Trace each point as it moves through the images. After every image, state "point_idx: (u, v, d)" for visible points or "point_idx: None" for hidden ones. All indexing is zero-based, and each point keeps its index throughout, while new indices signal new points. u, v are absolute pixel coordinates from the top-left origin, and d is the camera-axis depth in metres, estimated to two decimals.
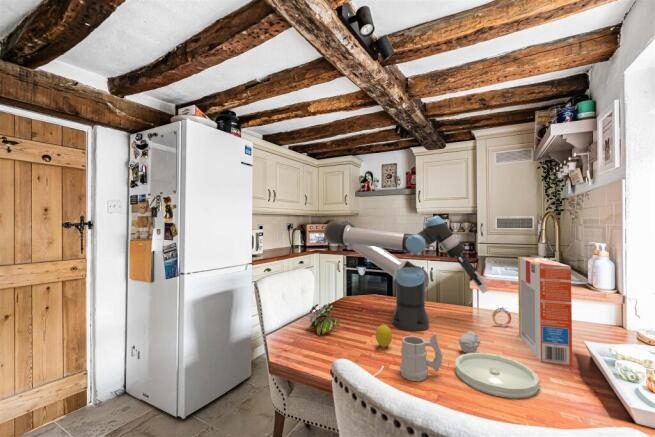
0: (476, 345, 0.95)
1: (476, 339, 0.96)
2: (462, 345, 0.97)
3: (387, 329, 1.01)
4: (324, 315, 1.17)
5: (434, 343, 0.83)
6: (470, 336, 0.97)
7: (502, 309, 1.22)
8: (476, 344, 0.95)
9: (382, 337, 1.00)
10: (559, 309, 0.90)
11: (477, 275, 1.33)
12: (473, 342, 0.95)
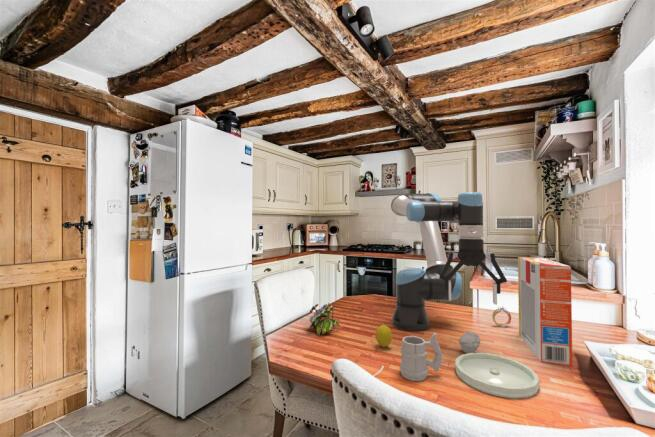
0: (476, 345, 0.95)
1: (476, 339, 0.96)
2: (462, 345, 0.97)
3: (387, 329, 1.01)
4: (324, 315, 1.17)
5: (434, 343, 0.83)
6: (470, 336, 0.97)
7: (502, 309, 1.22)
8: (476, 344, 0.95)
9: (382, 337, 1.00)
10: (559, 309, 0.90)
11: (493, 289, 0.96)
12: (473, 342, 0.95)
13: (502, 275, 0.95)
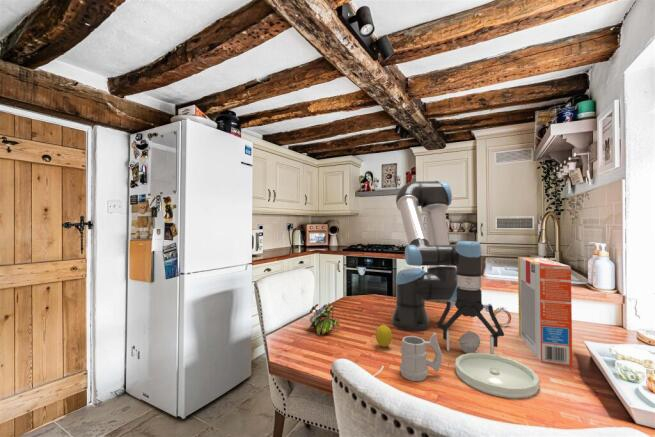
0: (476, 345, 0.95)
1: (476, 339, 0.96)
2: (462, 345, 0.97)
3: (387, 329, 1.01)
4: (324, 315, 1.17)
5: (434, 343, 0.83)
6: (470, 336, 0.97)
7: (502, 309, 1.22)
8: (476, 344, 0.95)
9: (382, 337, 1.00)
10: (559, 309, 0.90)
11: (490, 341, 0.95)
12: (473, 342, 0.95)
13: (499, 329, 0.93)
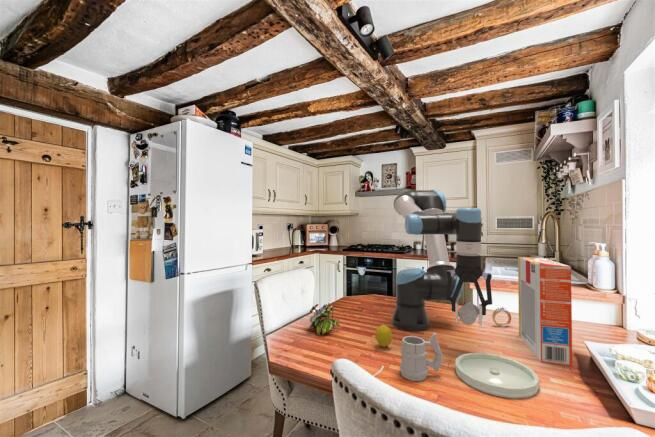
0: (475, 315, 0.96)
1: (475, 310, 0.96)
2: (461, 316, 0.98)
3: (387, 329, 1.01)
4: (324, 315, 1.17)
5: (434, 343, 0.83)
6: (469, 307, 0.97)
7: (502, 309, 1.22)
8: (475, 314, 0.96)
9: (382, 337, 1.00)
10: (559, 309, 0.90)
11: (479, 310, 0.97)
12: (472, 312, 0.96)
13: (490, 297, 0.95)
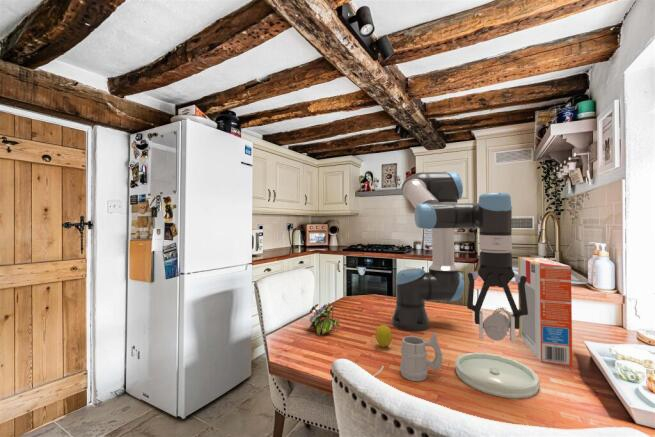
0: (506, 329, 0.75)
1: (505, 322, 0.76)
2: (487, 329, 0.77)
3: (387, 329, 1.01)
4: (324, 315, 1.17)
5: (434, 343, 0.83)
6: (498, 318, 0.77)
7: (502, 309, 1.22)
8: (506, 327, 0.75)
9: (382, 337, 1.00)
10: (559, 309, 0.90)
11: (510, 322, 0.76)
12: (502, 325, 0.75)
13: (525, 306, 0.75)
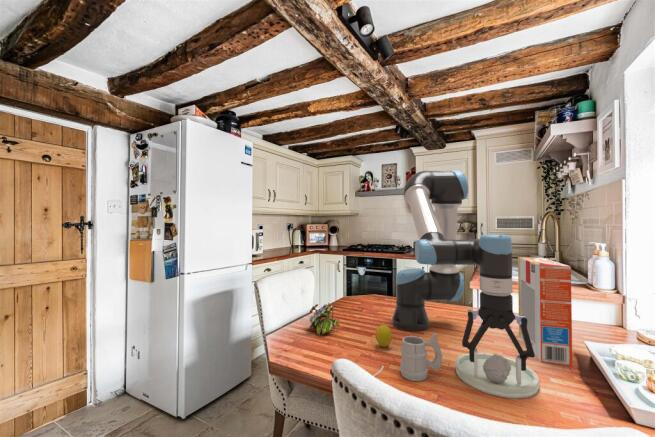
0: (506, 373, 0.75)
1: (505, 366, 0.76)
2: (488, 372, 0.77)
3: (387, 329, 1.01)
4: (324, 315, 1.17)
5: (434, 343, 0.83)
6: (499, 362, 0.77)
7: None
8: (506, 372, 0.75)
9: (382, 337, 1.00)
10: (559, 309, 0.90)
11: (517, 364, 0.76)
12: (502, 369, 0.75)
13: (530, 348, 0.74)
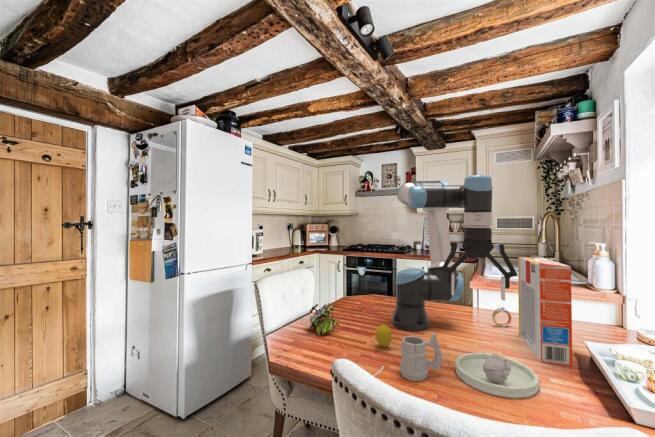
0: (506, 373, 0.75)
1: (505, 366, 0.76)
2: (488, 372, 0.77)
3: (387, 329, 1.01)
4: (324, 315, 1.17)
5: (434, 343, 0.83)
6: (498, 362, 0.77)
7: (502, 309, 1.22)
8: (506, 372, 0.75)
9: (382, 337, 1.00)
10: (559, 309, 0.90)
11: (502, 283, 0.86)
12: (502, 369, 0.75)
13: (512, 268, 0.85)
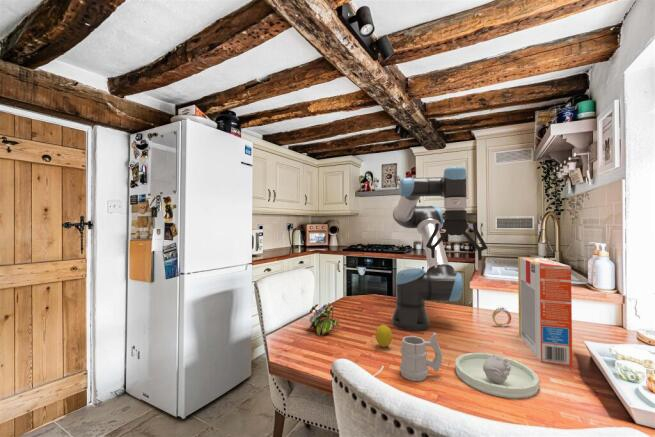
0: (506, 373, 0.75)
1: (505, 366, 0.76)
2: (488, 372, 0.77)
3: (387, 329, 1.01)
4: (324, 315, 1.17)
5: (434, 343, 0.83)
6: (498, 362, 0.77)
7: (502, 309, 1.22)
8: (506, 372, 0.75)
9: (382, 337, 1.00)
10: (559, 309, 0.90)
11: (475, 256, 1.04)
12: (502, 369, 0.75)
13: (483, 243, 1.03)
